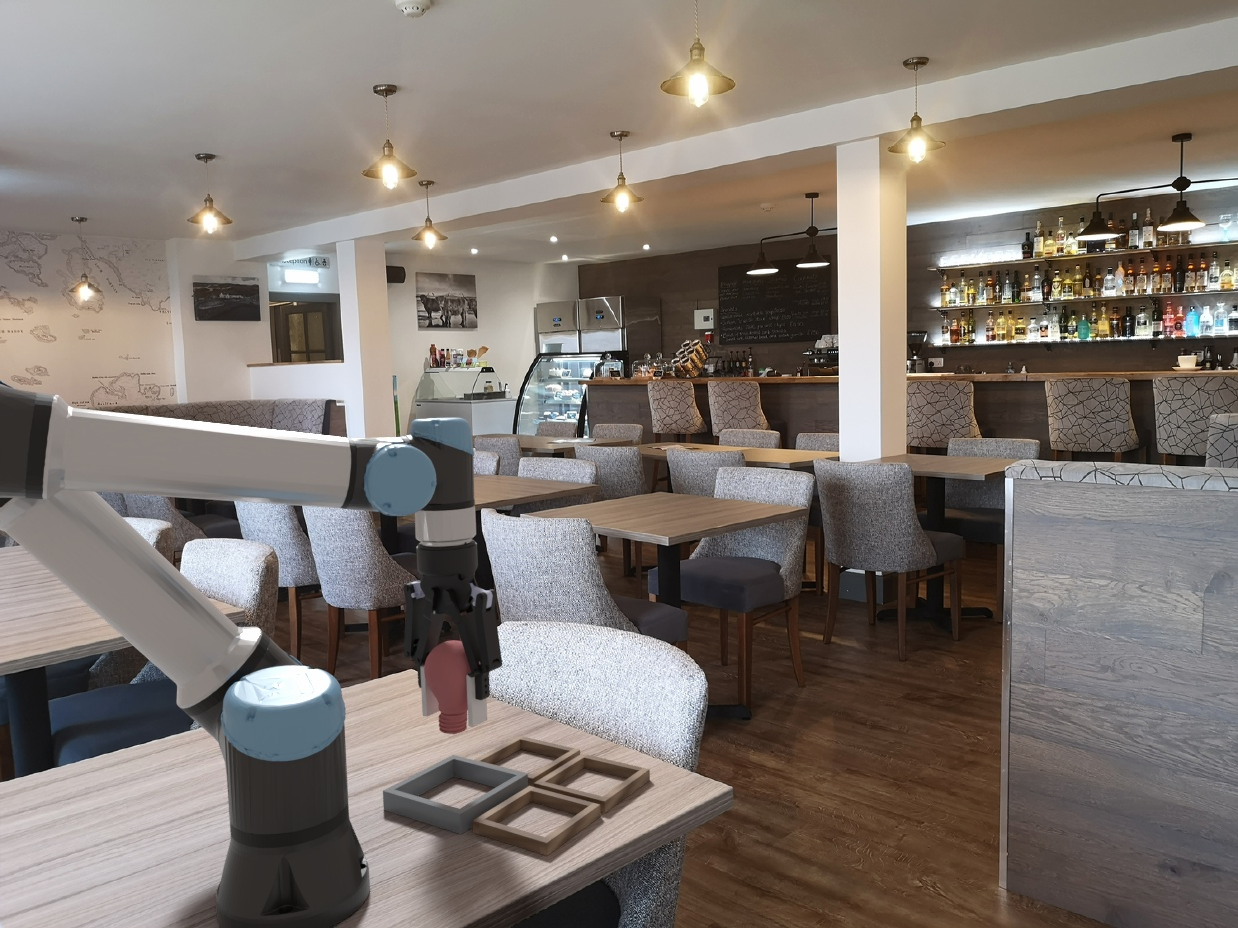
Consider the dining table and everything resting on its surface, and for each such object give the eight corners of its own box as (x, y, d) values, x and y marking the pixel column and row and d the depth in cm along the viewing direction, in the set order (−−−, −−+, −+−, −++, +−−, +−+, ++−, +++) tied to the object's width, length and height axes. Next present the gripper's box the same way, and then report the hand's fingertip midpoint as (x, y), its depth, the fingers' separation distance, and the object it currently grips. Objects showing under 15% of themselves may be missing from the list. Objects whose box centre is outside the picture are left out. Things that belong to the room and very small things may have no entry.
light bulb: (489, 723, 122) (485, 633, 121) (475, 744, 115) (471, 649, 114) (436, 722, 123) (432, 633, 122) (420, 743, 116) (415, 649, 115)
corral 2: (533, 789, 122) (532, 778, 122) (469, 772, 128) (469, 761, 128) (580, 759, 132) (580, 749, 131) (519, 745, 137) (518, 735, 137)
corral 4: (604, 812, 115) (604, 801, 115) (534, 793, 121) (534, 782, 121) (649, 779, 124) (649, 769, 124) (582, 763, 130) (581, 753, 130)
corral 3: (547, 855, 105) (546, 842, 105) (473, 832, 111) (472, 820, 111) (600, 816, 114) (600, 804, 114) (529, 796, 120) (529, 785, 120)
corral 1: (461, 834, 111) (460, 813, 110) (383, 809, 117) (382, 790, 117) (528, 792, 121) (527, 773, 121) (453, 772, 128) (453, 754, 128)
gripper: (528, 541, 114) (534, 721, 116) (410, 531, 125) (418, 696, 127) (488, 551, 108) (496, 742, 110) (368, 540, 119) (377, 714, 121)
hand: (454, 717), depth 119 cm, fingers closed on light bulb, 7 cm apart
